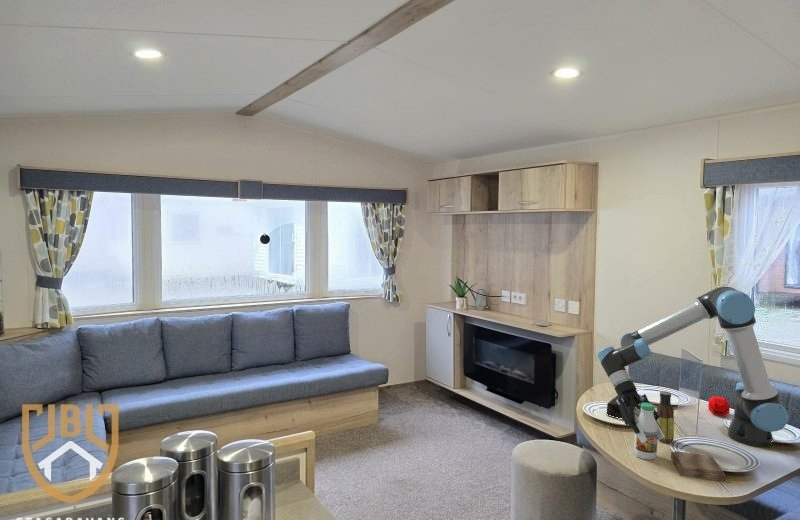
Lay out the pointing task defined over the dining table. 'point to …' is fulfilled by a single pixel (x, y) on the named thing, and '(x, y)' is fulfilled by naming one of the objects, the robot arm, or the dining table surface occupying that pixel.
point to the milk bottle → (646, 433)
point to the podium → (697, 466)
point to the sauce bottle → (666, 417)
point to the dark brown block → (614, 408)
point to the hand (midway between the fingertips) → (653, 439)
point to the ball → (718, 406)
